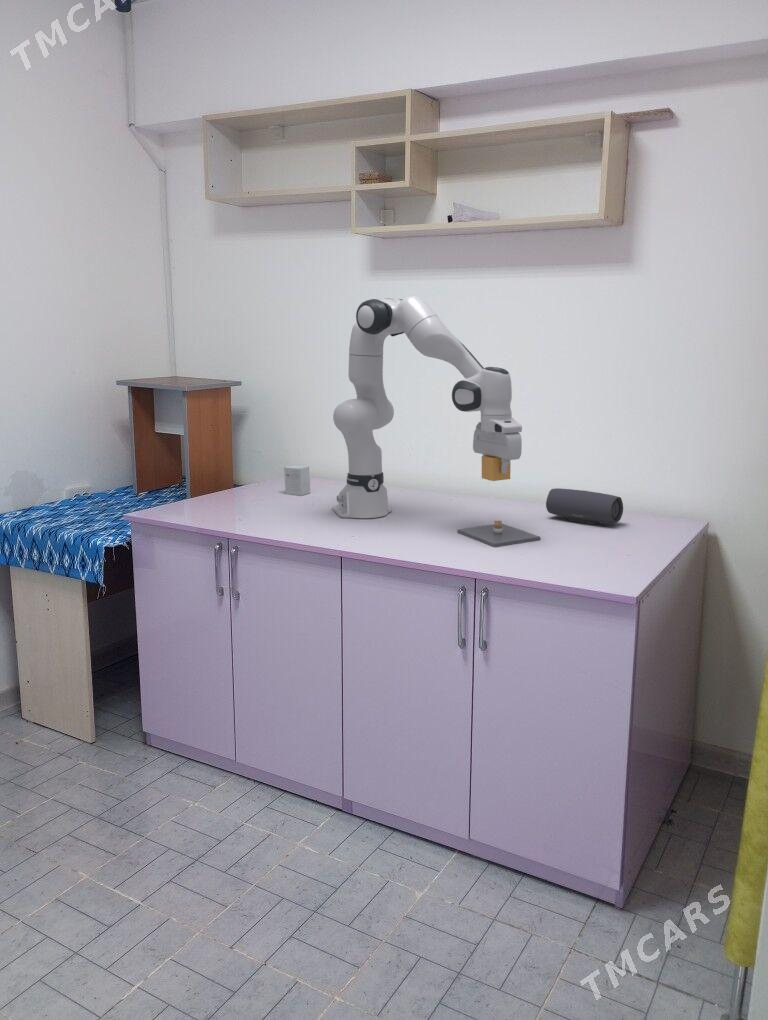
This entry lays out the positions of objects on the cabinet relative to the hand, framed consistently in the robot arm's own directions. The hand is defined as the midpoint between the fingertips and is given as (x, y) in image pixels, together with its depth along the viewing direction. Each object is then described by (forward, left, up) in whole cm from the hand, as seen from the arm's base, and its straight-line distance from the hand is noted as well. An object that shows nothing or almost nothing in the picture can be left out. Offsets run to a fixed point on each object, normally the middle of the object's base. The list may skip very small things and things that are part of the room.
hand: (496, 471), depth 243 cm
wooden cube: (0, 0, -2) cm, 2 cm away
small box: (-93, -27, -20) cm, 99 cm away
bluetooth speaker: (-2, +35, -20) cm, 40 cm away
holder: (0, +1, -20) cm, 20 cm away
